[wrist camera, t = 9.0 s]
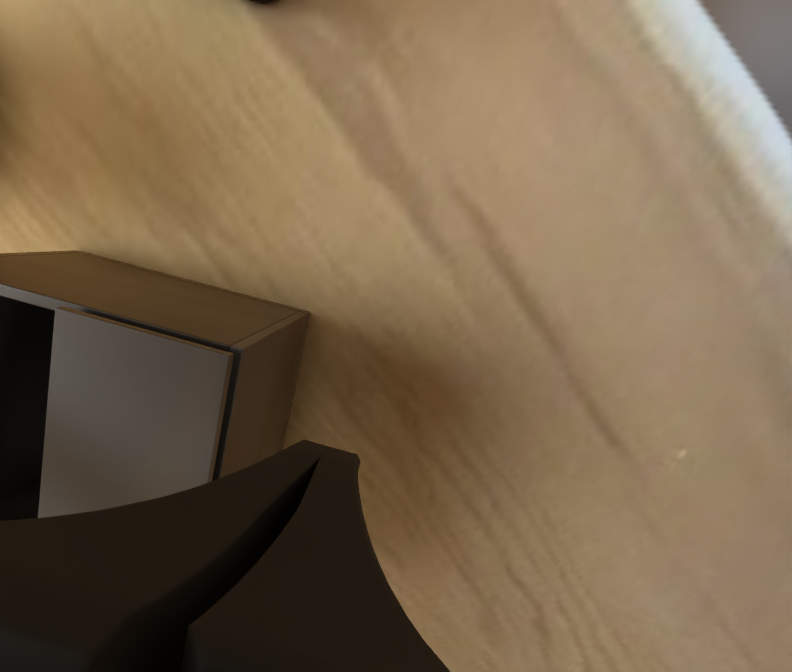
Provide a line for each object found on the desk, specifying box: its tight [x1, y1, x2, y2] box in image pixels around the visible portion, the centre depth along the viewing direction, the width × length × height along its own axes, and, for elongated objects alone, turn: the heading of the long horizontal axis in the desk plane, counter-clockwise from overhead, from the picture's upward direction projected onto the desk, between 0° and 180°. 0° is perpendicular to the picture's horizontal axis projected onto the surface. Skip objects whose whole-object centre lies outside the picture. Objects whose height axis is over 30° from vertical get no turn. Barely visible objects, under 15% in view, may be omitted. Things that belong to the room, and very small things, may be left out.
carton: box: [0, 251, 310, 521], centre depth 19 cm, size 11×11×7 cm
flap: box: [38, 307, 234, 518], centre depth 15 cm, size 11×5×1 cm, turn 166°
